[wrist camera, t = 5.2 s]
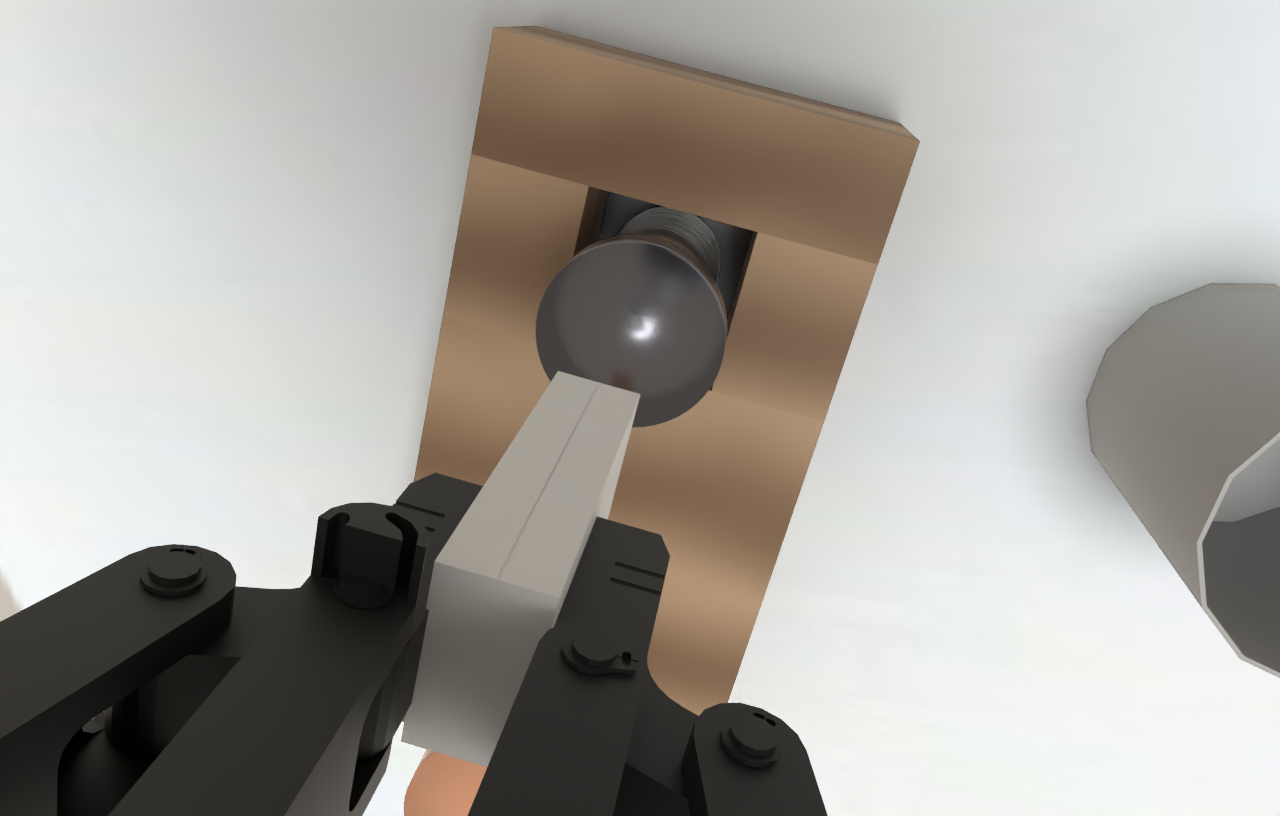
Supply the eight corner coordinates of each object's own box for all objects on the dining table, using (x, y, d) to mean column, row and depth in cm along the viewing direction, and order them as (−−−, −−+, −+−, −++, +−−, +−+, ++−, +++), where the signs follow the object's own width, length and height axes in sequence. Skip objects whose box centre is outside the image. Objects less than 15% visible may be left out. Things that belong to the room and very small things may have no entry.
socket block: (534, 25, 32) (493, 27, 28) (900, 123, 32) (919, 141, 27) (419, 635, 41) (373, 712, 37) (702, 717, 41) (692, 806, 36)
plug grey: (613, 171, 33) (556, 221, 25) (757, 210, 33) (747, 273, 24) (580, 309, 34) (519, 398, 26) (717, 347, 34) (696, 448, 26)
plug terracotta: (508, 552, 33) (419, 724, 25) (650, 592, 33) (606, 778, 25) (482, 669, 35) (391, 865, 27) (616, 708, 35) (565, 916, 27)
